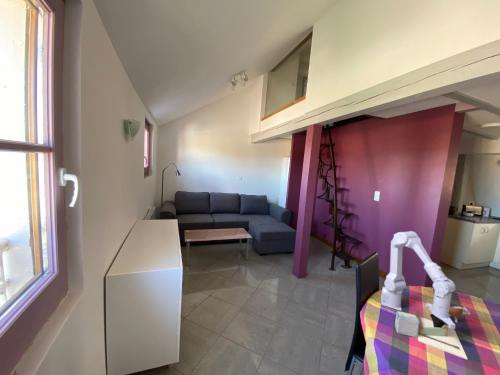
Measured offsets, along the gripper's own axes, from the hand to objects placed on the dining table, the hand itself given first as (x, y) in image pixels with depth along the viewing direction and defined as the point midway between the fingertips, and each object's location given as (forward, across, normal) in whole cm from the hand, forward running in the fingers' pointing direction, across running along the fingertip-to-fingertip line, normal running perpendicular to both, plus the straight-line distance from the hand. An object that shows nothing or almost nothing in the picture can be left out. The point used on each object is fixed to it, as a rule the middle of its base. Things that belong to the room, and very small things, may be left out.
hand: (436, 331), depth 100 cm
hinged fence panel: (+1, -2, +3) cm, 4 cm away
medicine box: (+2, -1, +15) cm, 15 cm away
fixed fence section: (+1, +4, +6) cm, 7 cm away
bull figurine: (+2, +11, -16) cm, 19 cm away
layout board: (+1, -1, 0) cm, 2 cm away
